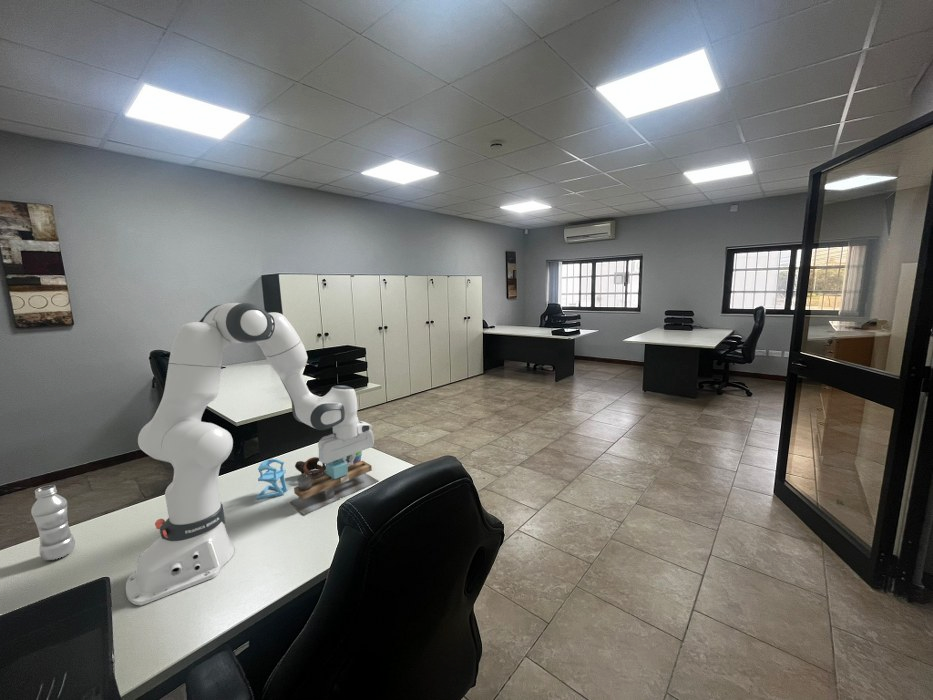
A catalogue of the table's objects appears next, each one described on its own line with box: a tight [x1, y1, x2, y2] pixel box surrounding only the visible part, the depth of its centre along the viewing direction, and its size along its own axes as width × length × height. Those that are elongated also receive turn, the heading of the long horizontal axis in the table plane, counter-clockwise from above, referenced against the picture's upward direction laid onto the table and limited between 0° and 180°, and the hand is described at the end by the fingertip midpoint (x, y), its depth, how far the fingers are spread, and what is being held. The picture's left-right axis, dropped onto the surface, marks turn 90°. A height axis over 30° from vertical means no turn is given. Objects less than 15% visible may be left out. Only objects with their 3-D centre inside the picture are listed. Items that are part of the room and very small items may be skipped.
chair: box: [256, 458, 289, 500], centre depth 133 cm, size 8×8×12 cm
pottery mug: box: [294, 456, 326, 481], centre depth 145 cm, size 12×10×8 cm
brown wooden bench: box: [289, 460, 380, 516], centre depth 133 cm, size 28×11×9 cm, turn 137°
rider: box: [325, 459, 348, 479], centre depth 133 cm, size 5×6×7 cm
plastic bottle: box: [30, 484, 76, 561], centre depth 102 cm, size 6×7×20 cm
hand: (348, 466), depth 136 cm, fingers closed
